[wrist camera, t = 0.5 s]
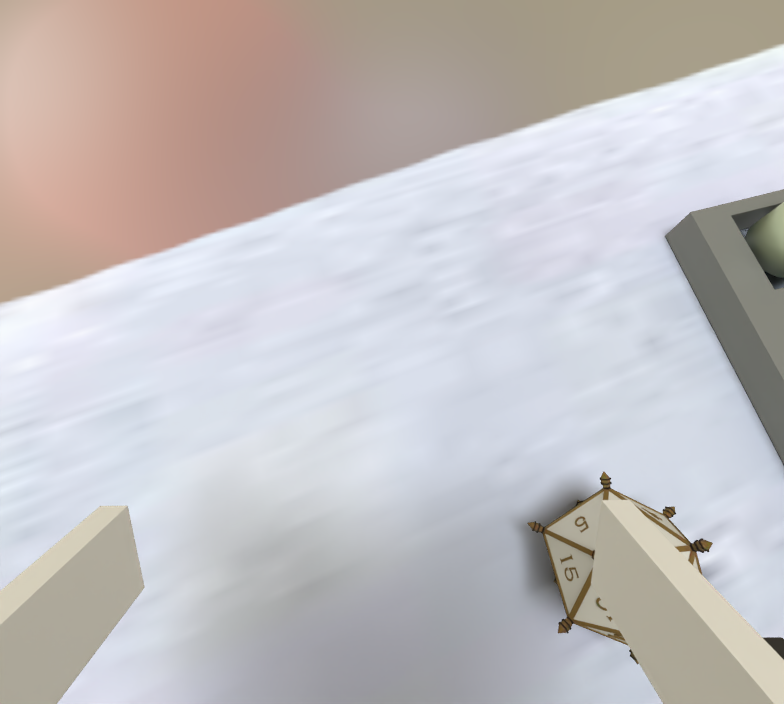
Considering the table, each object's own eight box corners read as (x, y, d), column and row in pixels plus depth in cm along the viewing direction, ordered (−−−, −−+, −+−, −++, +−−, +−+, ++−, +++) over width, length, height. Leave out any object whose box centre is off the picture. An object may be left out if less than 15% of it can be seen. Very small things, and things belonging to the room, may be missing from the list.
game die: (578, 514, 29) (714, 462, 22) (631, 660, 24) (830, 652, 17) (481, 507, 25) (606, 443, 19) (517, 677, 20) (710, 675, 13)
